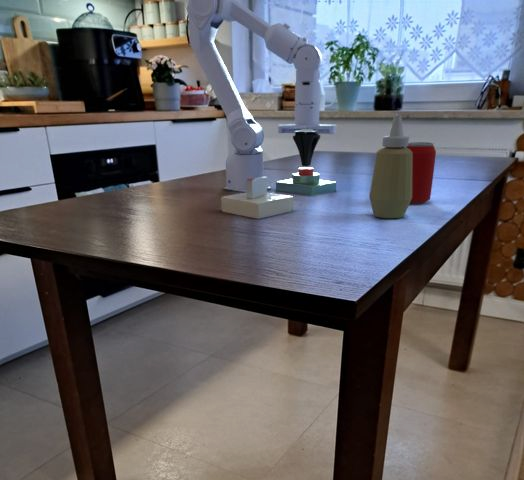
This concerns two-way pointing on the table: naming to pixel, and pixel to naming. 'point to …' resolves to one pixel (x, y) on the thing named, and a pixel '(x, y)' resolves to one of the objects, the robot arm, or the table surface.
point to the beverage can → (422, 170)
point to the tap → (256, 187)
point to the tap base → (257, 205)
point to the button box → (306, 185)
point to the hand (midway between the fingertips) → (306, 165)
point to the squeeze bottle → (392, 175)
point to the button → (306, 171)
